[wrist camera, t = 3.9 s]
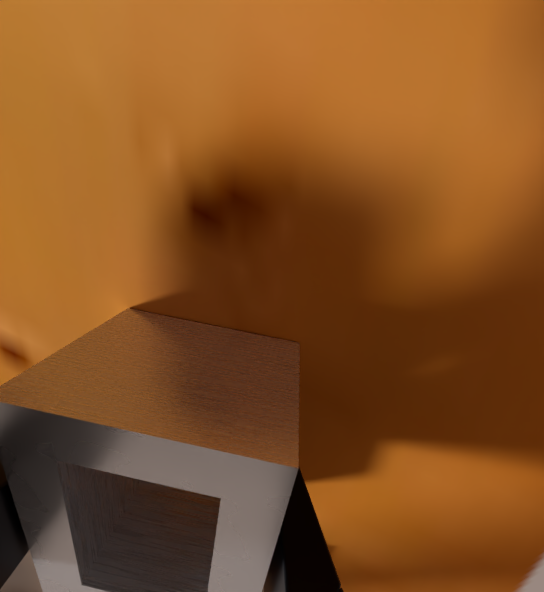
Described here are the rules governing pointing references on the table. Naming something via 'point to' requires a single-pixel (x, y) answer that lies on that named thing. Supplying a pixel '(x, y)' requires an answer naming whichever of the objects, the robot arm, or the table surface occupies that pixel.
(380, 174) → the table surface
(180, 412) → the steel link
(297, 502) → the robot arm
